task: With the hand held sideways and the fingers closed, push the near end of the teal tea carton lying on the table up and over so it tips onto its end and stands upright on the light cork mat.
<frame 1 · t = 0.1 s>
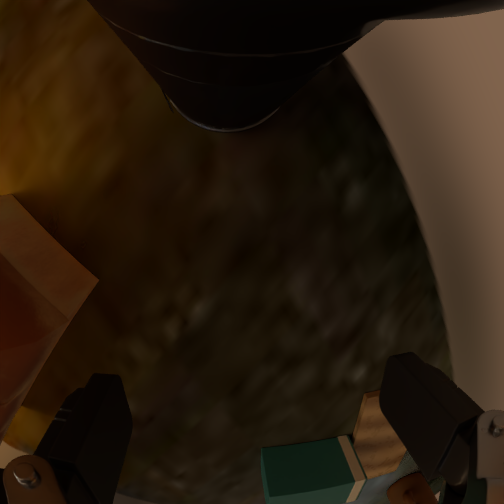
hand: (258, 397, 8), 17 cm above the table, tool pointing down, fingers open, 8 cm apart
mug: (400, 479, 40), on the table
bread: (8, 320, 25), on the table
tea carton: (310, 476, 30), point 4 cm above the table
cork mat: (382, 437, 34), on the table
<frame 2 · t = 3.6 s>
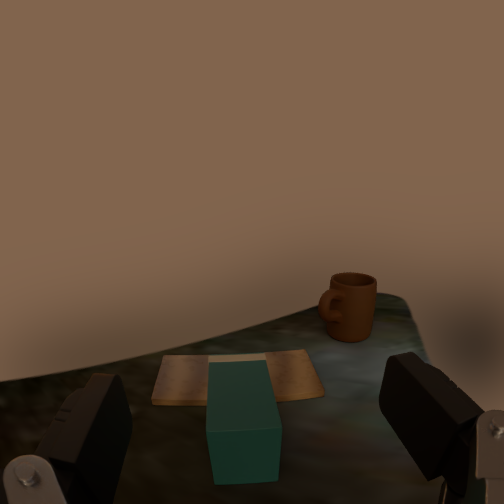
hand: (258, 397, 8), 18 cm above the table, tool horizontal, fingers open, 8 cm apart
mug: (340, 338, 48), on the table
tea carton: (241, 416, 26), point 4 cm above the table
cork mat: (236, 380, 38), on the table
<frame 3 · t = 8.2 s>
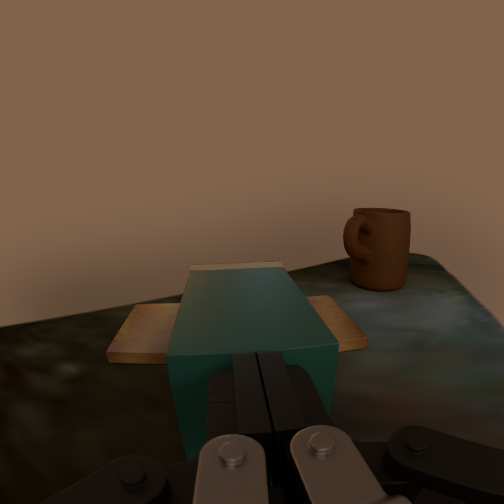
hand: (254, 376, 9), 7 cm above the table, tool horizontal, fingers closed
mug: (369, 288, 37), on the table
tea carton: (244, 360, 15), point 4 cm above the table, touching gripper
cork mat: (235, 332, 27), on the table
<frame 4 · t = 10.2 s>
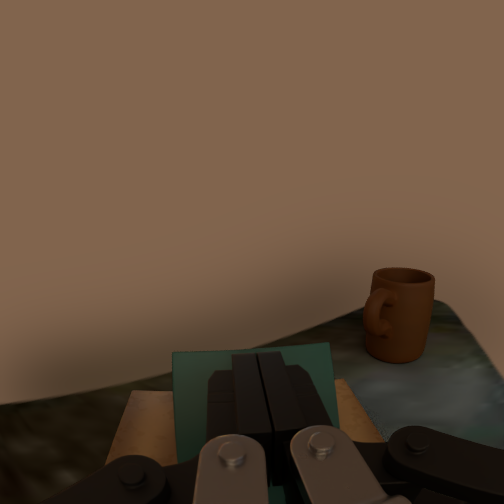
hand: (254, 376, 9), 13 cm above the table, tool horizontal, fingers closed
mug: (385, 358, 32), on the table
tea carton: (250, 440, 13), point 7 cm above the table, tilted 39°, touching cork mat, gripper
cork mat: (243, 433, 22), on the table
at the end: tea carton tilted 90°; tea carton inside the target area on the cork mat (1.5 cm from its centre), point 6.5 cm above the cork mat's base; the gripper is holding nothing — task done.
